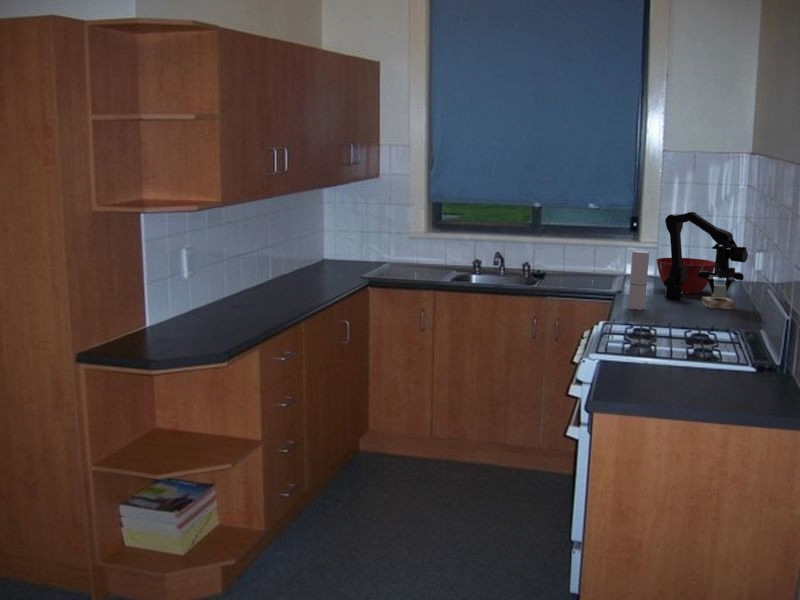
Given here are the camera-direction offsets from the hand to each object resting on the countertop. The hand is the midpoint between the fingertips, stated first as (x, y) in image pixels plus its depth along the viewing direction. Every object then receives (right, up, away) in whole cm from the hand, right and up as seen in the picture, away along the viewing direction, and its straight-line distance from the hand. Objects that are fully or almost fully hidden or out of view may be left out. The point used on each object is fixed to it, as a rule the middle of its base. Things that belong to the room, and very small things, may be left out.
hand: (718, 294), depth 403 cm
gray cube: (0, -1, 0) cm, 1 cm away
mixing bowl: (-4, +1, +37) cm, 38 cm away
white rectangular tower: (-40, -6, -11) cm, 42 cm away
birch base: (0, -5, +1) cm, 6 cm away
